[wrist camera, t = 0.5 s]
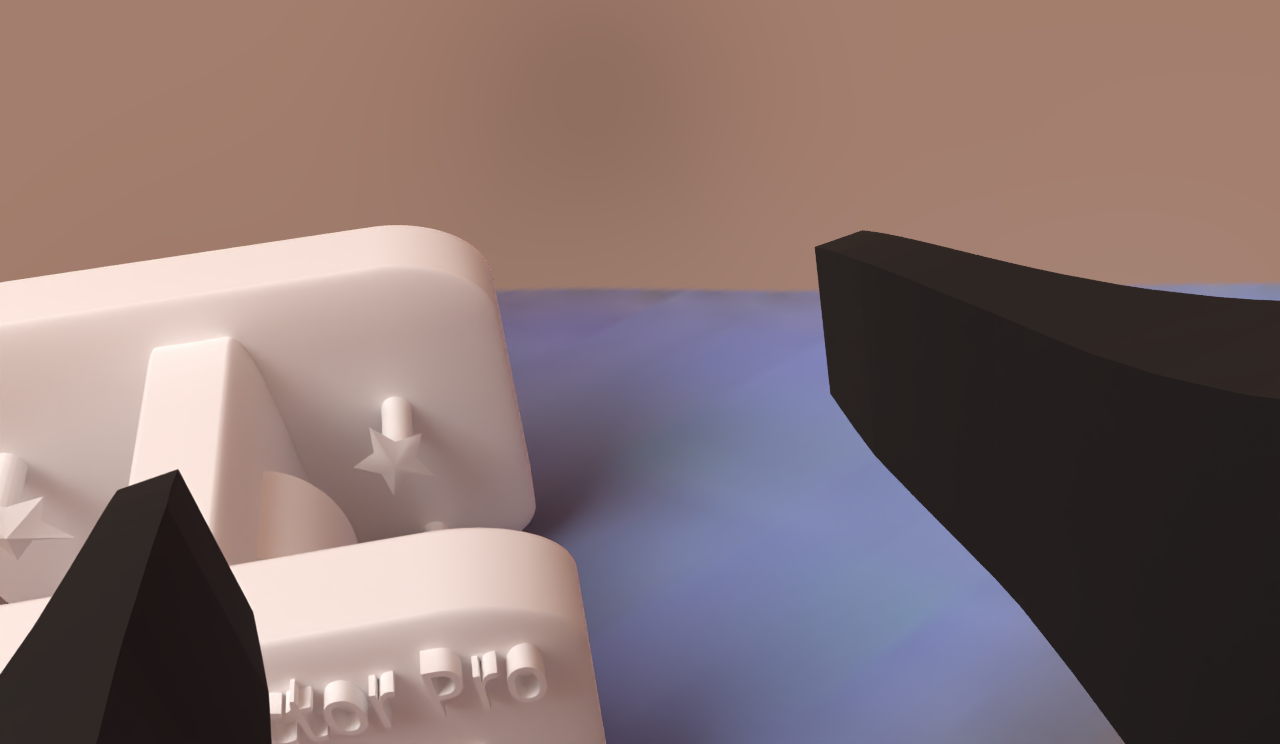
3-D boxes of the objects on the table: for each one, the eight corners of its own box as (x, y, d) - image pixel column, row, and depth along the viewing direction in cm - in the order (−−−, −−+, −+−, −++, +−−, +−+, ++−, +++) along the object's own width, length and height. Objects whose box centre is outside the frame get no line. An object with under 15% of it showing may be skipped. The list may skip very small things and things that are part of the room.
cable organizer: (567, 502, 33) (516, 196, 25) (625, 864, 26) (584, 616, 18) (50, 590, 32) (-195, 302, 23) (-33, 995, 25) (-427, 798, 16)
